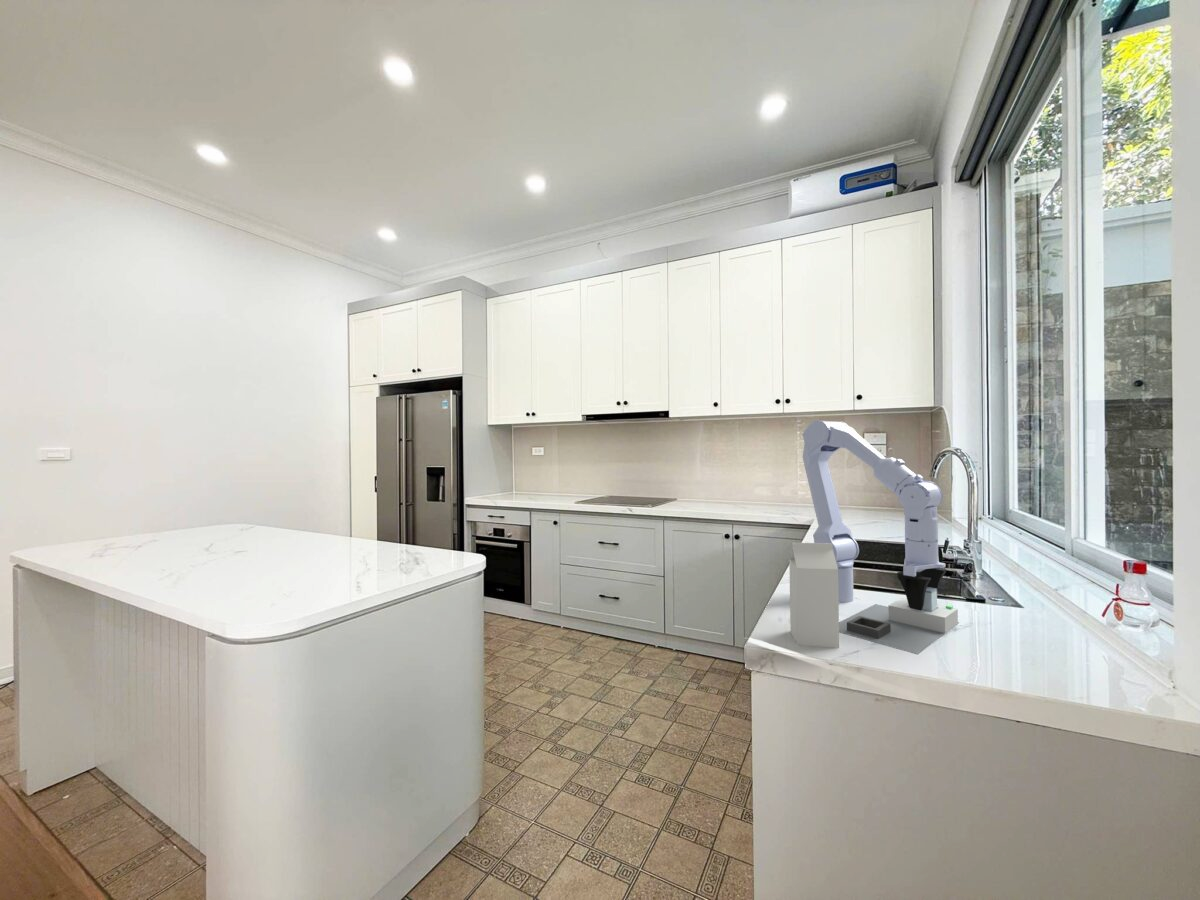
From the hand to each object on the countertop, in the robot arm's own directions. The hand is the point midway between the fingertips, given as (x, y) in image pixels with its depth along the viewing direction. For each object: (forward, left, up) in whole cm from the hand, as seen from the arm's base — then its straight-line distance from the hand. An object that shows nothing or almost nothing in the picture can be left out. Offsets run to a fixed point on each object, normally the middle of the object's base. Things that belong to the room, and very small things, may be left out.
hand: (922, 605), depth 98 cm
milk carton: (-10, -26, -4) cm, 28 cm away
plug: (0, 0, -3) cm, 3 cm away
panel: (-3, -7, -4) cm, 9 cm away
